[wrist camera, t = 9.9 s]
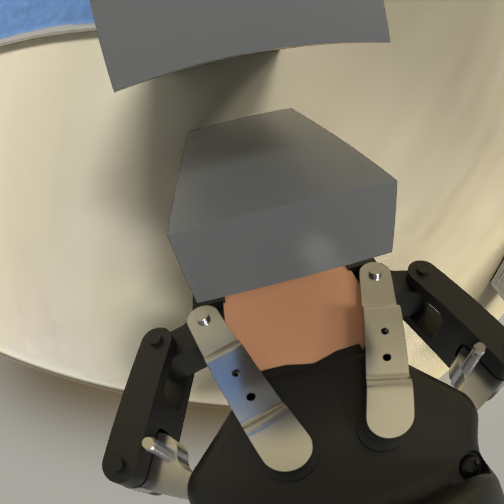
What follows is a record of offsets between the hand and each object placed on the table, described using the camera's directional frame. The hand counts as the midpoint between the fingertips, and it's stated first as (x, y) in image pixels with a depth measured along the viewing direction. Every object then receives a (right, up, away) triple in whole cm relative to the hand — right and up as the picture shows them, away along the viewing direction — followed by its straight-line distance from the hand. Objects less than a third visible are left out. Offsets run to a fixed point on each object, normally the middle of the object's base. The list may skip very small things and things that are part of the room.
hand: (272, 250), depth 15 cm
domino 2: (-1, +5, -1) cm, 6 cm away
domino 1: (-2, +9, -4) cm, 10 cm away
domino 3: (0, +1, +2) cm, 2 cm away
